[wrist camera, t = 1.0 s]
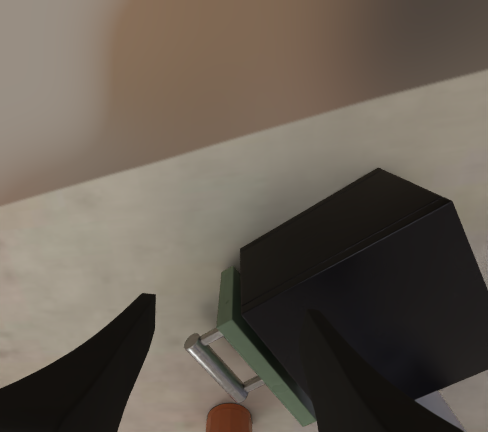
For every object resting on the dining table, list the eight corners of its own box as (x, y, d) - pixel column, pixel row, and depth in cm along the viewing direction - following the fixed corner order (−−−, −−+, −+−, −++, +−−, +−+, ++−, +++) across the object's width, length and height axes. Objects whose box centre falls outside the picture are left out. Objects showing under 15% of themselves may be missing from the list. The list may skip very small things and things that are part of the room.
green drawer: (246, 377, 28) (249, 450, 22) (175, 298, 24) (155, 360, 19) (402, 302, 25) (453, 362, 19) (347, 199, 21) (388, 235, 16)
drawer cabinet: (310, 344, 28) (337, 433, 20) (239, 248, 24) (240, 314, 16) (434, 283, 25) (515, 358, 18) (378, 167, 22) (453, 200, 14)
